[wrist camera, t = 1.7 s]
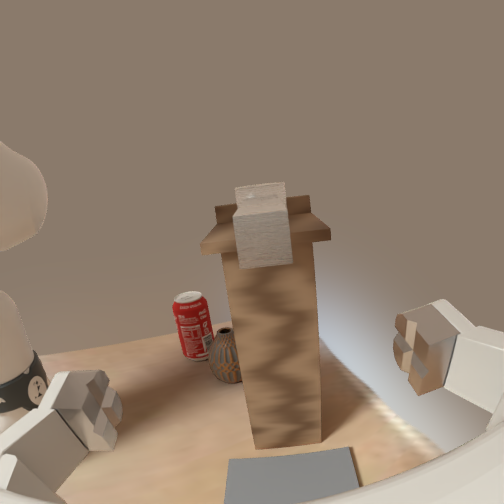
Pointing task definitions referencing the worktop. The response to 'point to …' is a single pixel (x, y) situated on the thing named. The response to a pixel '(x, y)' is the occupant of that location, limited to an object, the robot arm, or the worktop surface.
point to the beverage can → (193, 325)
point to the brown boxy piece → (276, 329)
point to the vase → (225, 356)
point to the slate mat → (290, 478)
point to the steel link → (262, 226)
